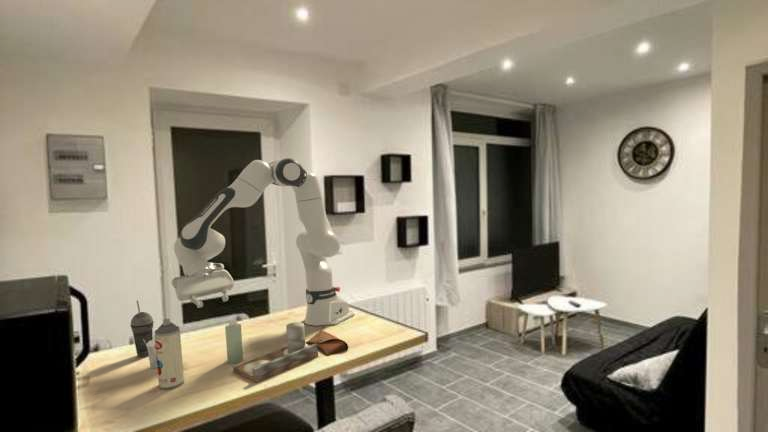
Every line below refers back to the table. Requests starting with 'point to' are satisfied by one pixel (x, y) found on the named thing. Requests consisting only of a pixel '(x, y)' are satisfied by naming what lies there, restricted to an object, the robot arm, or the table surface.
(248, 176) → the robot arm
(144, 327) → the beverage cup
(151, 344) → the milkshake
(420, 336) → the table surface
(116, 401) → the table surface
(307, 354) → the rail stand
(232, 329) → the slim bottle
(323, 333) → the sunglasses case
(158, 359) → the aerosol can
